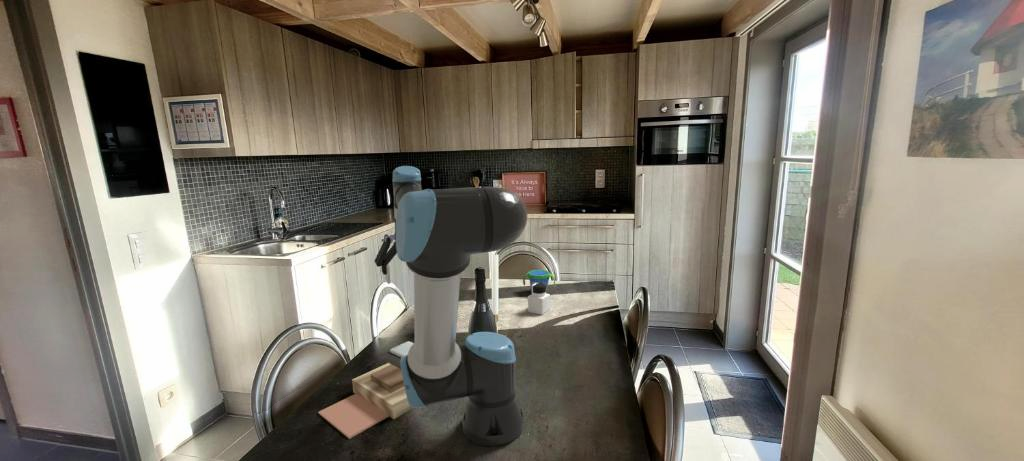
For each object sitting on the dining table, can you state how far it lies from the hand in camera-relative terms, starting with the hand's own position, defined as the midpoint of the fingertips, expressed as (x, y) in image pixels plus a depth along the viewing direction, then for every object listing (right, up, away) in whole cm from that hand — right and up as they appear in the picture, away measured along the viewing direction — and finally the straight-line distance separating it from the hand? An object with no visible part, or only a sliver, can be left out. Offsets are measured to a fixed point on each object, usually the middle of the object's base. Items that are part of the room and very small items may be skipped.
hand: (409, 275), depth 130 cm
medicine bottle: (+44, -20, +45) cm, 67 cm away
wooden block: (-1, -28, -15) cm, 32 cm away
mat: (-9, -34, -23) cm, 42 cm away
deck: (-1, -32, -14) cm, 35 cm away
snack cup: (+46, -16, +68) cm, 84 cm away
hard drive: (-2, -28, +11) cm, 31 cm away
